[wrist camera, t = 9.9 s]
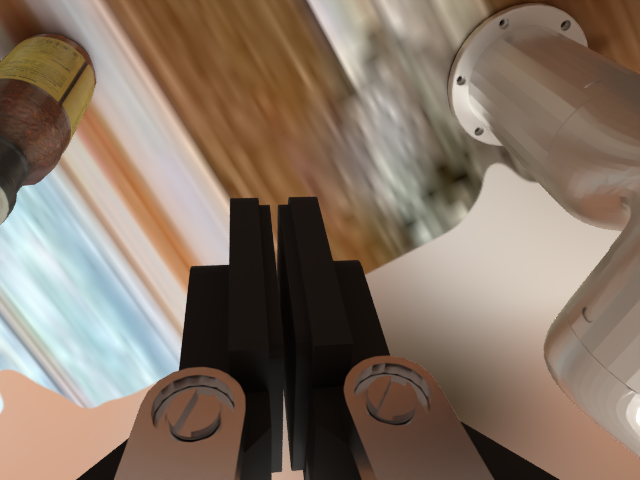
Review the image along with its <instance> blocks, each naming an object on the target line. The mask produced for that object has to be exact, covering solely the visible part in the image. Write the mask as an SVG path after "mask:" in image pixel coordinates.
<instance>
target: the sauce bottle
mask: <svg viewBox="0 0 640 480" xmlns="http://www.w3.org/2000/svg"><path fill="white" fill-rule="evenodd" d="M95 85H96V79H95V71H94V69H93V65H92V63H91V60H90V58H89V56H88V54H87V53H86V52H85V51H84V49H83V48H81V47H80V46H79V45H78V44H76V43H75V42H73V41H71V40H70V39H68V38H66V37H64V36H61V35H58V34H51V33H47V34H38V35H34V36H31V37H28V38H27V39H25V40H24V41H22V42H21V43H19V44H18V45H17V46H16V47H15V48H14V49H13V50H12V51H11V52H10V53H9V54H8V55H7V56H6V57H5V58H4V59H3V60H2V61H1V62H0V225H1V224H2V223H3V222H4V221H5V220H6V218H7V217H8V216H9V214H10V213H11V211H12V210H13V208H14V206H15V203H16V197H17V192H18V191H19V189H20V188H21V187H22V186H25V185H34V184H36V183H38V182H40V181H41V180H42V179H43V178H44V177H45V176H46V175H47V174H49V173H50V172H51V171H52V170H53V169H54V168H55V166H56V165H57V164H58V161H59V160H60V157H61V155H62V153H63V152H64V151H65V150H66V148H67V147H68V145H69V143H70V141H71V139H72V137H73V135H74V133H75V131H76V129H77V127H78V125H79V123H80V121H81V119H82V117H83V115H84V112H85V110H86V108H87V106H88V104H89V102H90V100H91V98H92V96H93V92H94V88H95Z"/></svg>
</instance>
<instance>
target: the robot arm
mask: <svg viewBox="0 0 640 480" xmlns="http://www.w3.org/2000/svg"><path fill="white" fill-rule="evenodd" d="M501 20H502V23H501V24H499V23H500V21H501ZM562 22H563V24H562ZM561 24H562V25H561ZM459 76H460V79H458V80H457V78H458V77H459ZM448 98H449V105H450V108H451V111H452V113H453V116H454V118H455V119H456V121H457V122H458V124H459V125H460V126H461V127H462V129H463V130H464V131H465V132H466V133H467V134H468V135H470V136H471V137H472V138H474V139H475V140H478V141H480V142H483V143H485V144H489V145H495V146H504V147H505V148H506V149H507V150H508V151H509V152H510V153H511V154H512V155H513V157H514V158H515V159H516V160H517V161H518V162H519V163H520V164H521V165H522V166H523V167H524V168H525V169H526V170H527V171H528V172H529V173H530V174H531V175H532V176H533V177H534V178H535V180H536V181H537V182H538V183H539V184H540V185H541V186H542V187H543V188H544V189H545V190H546V191H547V192H548V193H549V194H550V195H551V196H552V197H553V198H554V199H555V200H556V201H557V202H558V203H559V204H560V205H561V206H562V207H563V208H564V209H565V210H566V211H567V212H568V213H569V214H571V215H572V216H573V217H575V218H577V219H578V220H580V221H582V222H584V223H587V224H590V225H593V226H596V227H599V228H603V229H610V230H618V231H622V233H621V234H620V235H619V237H618V238H617V239H616V241H615V242H614V243H613V244H612V246H611V247H610V249H609V251H608V252H607V253H606V255H605V256H604V257H603V258H602V260H601V261H600V262H599V264H598V265H597V266H596V267H595V269H594V270H593V271H592V272H591V273H590V275H589V276H588V277H587V279H586V280H585V281H584V282H583V283H582V285H581V286H580V287H579V288H578V290H577V291H576V292H575V293H574V295H573V296H572V297H571V298H570V300H569V301H568V303H567V304H566V305H565V307H564V308H563V309H562V310H561V312H560V313H559V314H558V316H557V317H556V319H555V320H554V322H553V323H552V325H551V326H550V328H549V330H548V333H547V335H546V338H545V342H544V358H545V362H546V365H547V368H548V370H549V372H550V374H551V376H552V378H553V379H554V381H555V382H556V384H557V385H558V387H559V388H560V389H561V390H562V392H563V393H564V394H565V395H566V396H567V398H569V400H571V402H572V403H573V404H574V405H575V406H576V407H577V408H578V409H580V411H581V412H583V413H584V414H585V415H586V416H587V417H588V418H589V419H591V420H592V421H593V422H594V423H595V424H596V425H598V426H599V427H600V428H601V429H603V430H604V431H605V432H606V433H608V434H609V435H610V436H611V437H613V438H614V439H615V440H616V441H618V442H619V443H620V444H621V445H623V446H624V447H625V448H627V449H628V450H629V451H630V452H632V453H633V454H634V455H636V456H637V457H638V458H639V459H640V74H638V73H636V72H634V71H632V70H630V69H628V68H626V67H624V66H622V65H620V64H618V63H616V62H614V61H613V60H611V59H609V58H607V57H605V56H603V55H601V54H599V53H597V52H595V51H593V50H591V49H589V48H588V43H587V39H586V37H585V34H584V32H583V30H582V28H581V27H580V25H579V24H578V23H577V22H576V20H575V19H574V18H573V17H571V16H570V15H569V14H567V13H566V12H564V11H562V10H560V9H558V8H556V7H553V6H549V5H546V4H541V3H526V4H521V5H515V6H512V7H510V8H507V9H505V10H502V11H500V12H498V13H496V14H495V15H493V16H491V17H490V18H488V19H487V20H486V21H484V22H483V23H482V24H481V25H480V26H478V27H477V28H476V29H475V30H474V31H473V32H472V34H471V35H470V36H469V37H468V38H467V39H466V41H465V42H464V44H463V45H462V47H461V48H460V50H459V52H458V53H457V56H456V58H455V60H454V63H453V65H452V68H451V72H450V76H449V80H448ZM283 390H284V398H285V408H286V420H287V430H288V441H289V451H290V461H291V470H292V471H296V470H303V475H304V480H559V479H558V478H556V477H554V476H552V475H551V474H549V473H547V472H546V471H544V470H542V469H541V468H539V467H537V466H535V465H534V464H532V463H530V462H529V461H527V460H525V459H524V458H522V457H520V456H519V455H517V454H515V453H513V452H512V451H510V450H508V449H507V448H505V447H503V446H502V445H500V444H498V443H496V442H495V441H493V440H491V439H490V438H488V437H486V436H485V435H483V434H481V433H480V432H478V431H476V430H474V429H472V428H471V427H469V426H468V425H466V424H464V423H463V422H461V421H460V420H459V419H458V417H457V415H456V413H455V412H454V410H453V408H452V407H451V405H450V403H449V402H448V400H447V398H446V396H445V395H444V393H443V391H442V389H441V388H440V386H439V384H438V383H437V382H436V380H435V379H434V378H433V377H432V375H431V374H430V373H429V372H428V371H427V370H425V369H424V368H422V367H421V366H420V365H418V364H417V363H414V362H412V361H409V360H407V359H405V358H400V357H395V356H390V353H389V350H388V347H387V344H386V341H385V338H384V335H383V331H382V328H381V325H380V322H379V319H378V316H377V312H376V309H375V306H374V303H373V300H372V297H371V294H370V290H369V287H368V284H367V281H366V278H365V275H364V271H363V268H362V266H361V263H360V262H359V261H358V260H348V261H333V259H332V255H331V251H330V247H329V243H328V239H327V235H326V231H325V227H324V223H323V219H322V215H321V211H320V207H319V203H318V199H317V197H289V199H288V205H278V249H277V271H276V262H275V252H274V242H273V233H272V223H271V213H270V205H259V200H258V198H230V250H229V265H212V266H191V269H190V275H189V284H188V293H187V303H186V312H185V321H184V330H183V339H182V348H181V357H180V366H179V371H177V372H173V373H171V374H170V375H168V376H166V377H165V378H163V379H161V380H159V381H158V382H157V383H156V384H155V385H154V386H153V387H152V388H151V389H150V390H149V391H148V393H147V394H146V396H145V398H144V400H143V402H142V403H141V406H140V409H139V411H138V414H137V417H136V420H135V422H134V426H133V428H132V431H131V434H130V437H129V438H128V439H127V440H126V441H125V442H123V443H122V444H121V445H120V446H118V447H117V448H116V449H114V450H113V451H112V452H111V453H109V454H108V455H107V456H106V457H104V458H103V459H102V460H100V461H99V462H98V463H97V464H95V465H94V466H93V467H92V468H90V469H89V470H88V471H87V472H85V473H84V474H83V475H82V476H80V477H79V478H78V479H76V480H271V473H274V472H281V471H282V440H283Z"/></svg>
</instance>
